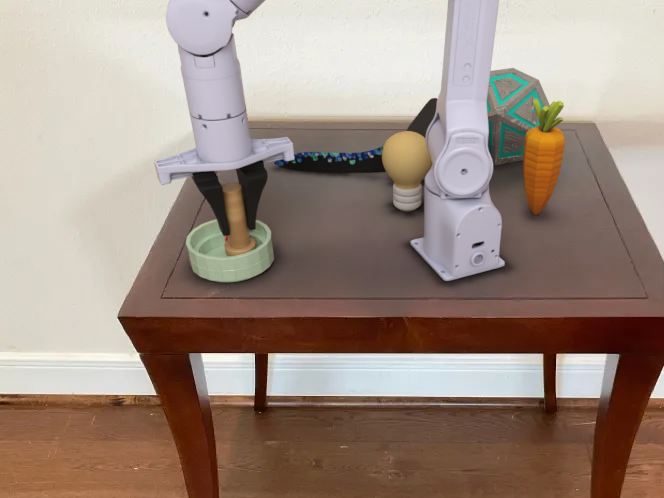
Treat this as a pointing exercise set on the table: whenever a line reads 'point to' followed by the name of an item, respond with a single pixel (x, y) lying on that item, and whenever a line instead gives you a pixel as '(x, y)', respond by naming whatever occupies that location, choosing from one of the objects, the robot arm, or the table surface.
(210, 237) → the bowl
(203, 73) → the robot arm
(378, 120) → the table surface
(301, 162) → the knife
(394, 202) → the light bulb
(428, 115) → the smartphone
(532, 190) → the carrot
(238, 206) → the pestle
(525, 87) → the sculpture
